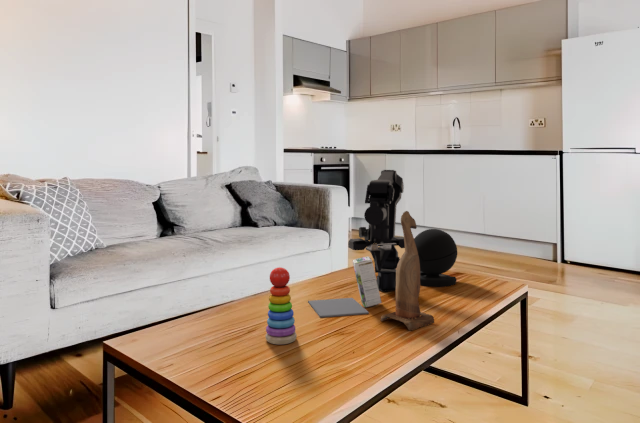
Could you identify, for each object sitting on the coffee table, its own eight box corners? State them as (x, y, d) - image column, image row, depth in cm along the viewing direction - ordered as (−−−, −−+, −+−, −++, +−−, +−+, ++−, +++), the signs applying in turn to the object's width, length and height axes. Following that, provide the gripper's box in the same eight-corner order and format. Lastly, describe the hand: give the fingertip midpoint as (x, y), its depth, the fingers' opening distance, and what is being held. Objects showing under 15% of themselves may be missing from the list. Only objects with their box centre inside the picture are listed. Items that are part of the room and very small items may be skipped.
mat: (352, 299, 163) (352, 297, 163) (368, 313, 147) (368, 312, 147) (308, 302, 159) (308, 300, 159) (320, 317, 144) (320, 315, 144)
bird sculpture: (436, 324, 139) (440, 211, 137) (410, 332, 131) (414, 213, 129) (404, 315, 148) (408, 208, 145) (378, 322, 140) (381, 210, 137)
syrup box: (361, 302, 158) (351, 260, 157) (379, 298, 159) (368, 255, 157) (364, 308, 153) (353, 263, 151) (382, 303, 153) (372, 258, 151)
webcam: (465, 284, 182) (467, 230, 180) (426, 289, 176) (428, 233, 174) (437, 274, 198) (438, 225, 196) (400, 278, 192) (401, 227, 190)
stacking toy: (301, 336, 128) (301, 265, 126) (289, 347, 121) (289, 272, 119) (273, 333, 131) (272, 263, 129) (260, 343, 123) (259, 270, 121)
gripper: (396, 217, 164) (396, 263, 165) (343, 219, 159) (342, 266, 161) (411, 221, 153) (410, 270, 155) (354, 223, 148) (353, 274, 150)
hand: (378, 270), depth 155 cm, fingers closed
